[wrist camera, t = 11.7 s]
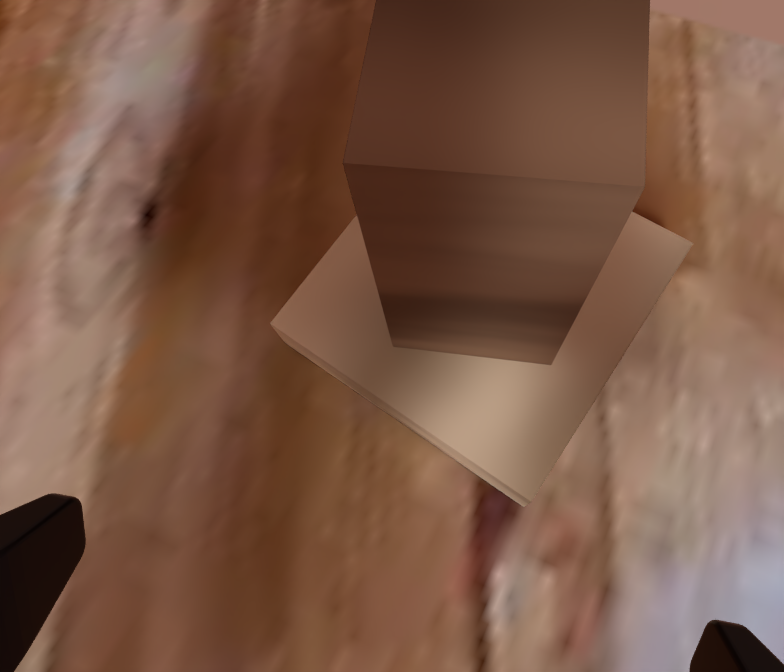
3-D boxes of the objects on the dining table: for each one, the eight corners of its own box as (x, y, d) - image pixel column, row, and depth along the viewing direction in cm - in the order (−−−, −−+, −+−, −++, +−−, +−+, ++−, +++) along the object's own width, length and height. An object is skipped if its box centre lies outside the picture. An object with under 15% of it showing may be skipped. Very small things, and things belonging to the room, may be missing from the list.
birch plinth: (673, 269, 22) (693, 243, 20) (523, 506, 20) (531, 501, 18) (439, 144, 25) (438, 111, 23) (284, 342, 23) (269, 323, 21)
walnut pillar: (551, 365, 19) (645, 187, 10) (392, 346, 20) (342, 162, 11) (561, 223, 21) (651, -45, 12) (414, 210, 22) (387, -53, 12)
